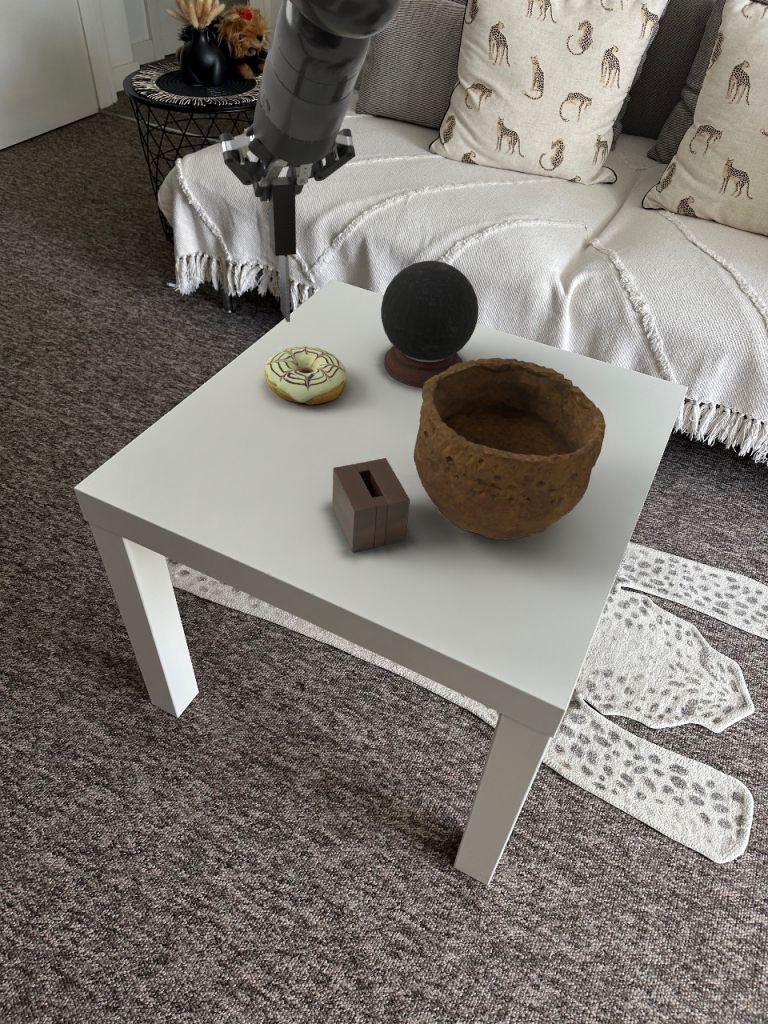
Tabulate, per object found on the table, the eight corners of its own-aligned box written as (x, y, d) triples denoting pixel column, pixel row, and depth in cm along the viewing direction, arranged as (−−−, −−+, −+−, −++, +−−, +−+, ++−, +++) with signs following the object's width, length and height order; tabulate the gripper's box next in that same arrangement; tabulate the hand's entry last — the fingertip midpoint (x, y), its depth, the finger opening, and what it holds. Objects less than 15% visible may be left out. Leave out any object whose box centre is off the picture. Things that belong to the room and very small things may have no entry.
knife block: (352, 552, 74) (354, 511, 70) (332, 508, 79) (333, 467, 75) (405, 540, 76) (410, 499, 72) (382, 498, 81) (386, 457, 76)
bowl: (450, 440, 89) (468, 334, 79) (593, 496, 83) (632, 390, 73) (375, 527, 77) (384, 415, 67) (536, 600, 71) (573, 490, 61)
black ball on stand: (464, 344, 107) (480, 247, 96) (473, 394, 97) (491, 291, 87) (376, 339, 106) (383, 241, 96) (377, 389, 96) (384, 285, 86)
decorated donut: (304, 420, 90) (304, 395, 88) (249, 384, 95) (247, 360, 93) (360, 388, 96) (361, 364, 94) (306, 357, 101) (306, 333, 99)
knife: (278, 323, 83) (273, 186, 73) (272, 311, 85) (266, 176, 75) (298, 321, 84) (295, 185, 73) (291, 309, 86) (288, 175, 75)
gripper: (372, 52, 63) (329, 155, 79) (214, 53, 59) (203, 161, 75) (388, 136, 63) (342, 221, 79) (232, 142, 59) (218, 230, 75)
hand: (275, 191), depth 77 cm, fingers closed on knife, 2 cm apart
